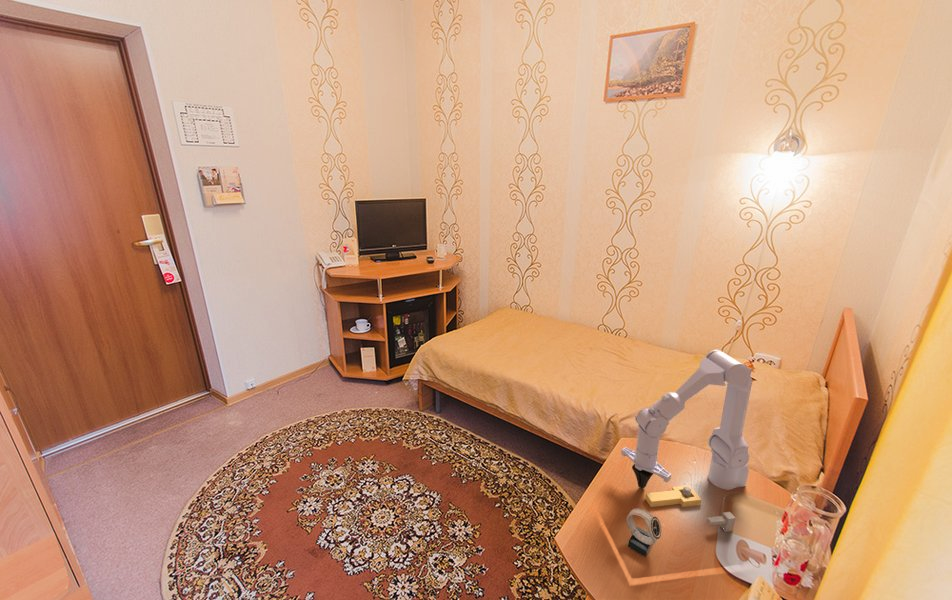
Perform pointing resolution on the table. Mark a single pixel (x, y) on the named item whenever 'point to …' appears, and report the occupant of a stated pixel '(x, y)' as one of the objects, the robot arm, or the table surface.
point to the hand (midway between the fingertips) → (642, 486)
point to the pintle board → (724, 520)
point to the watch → (643, 531)
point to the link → (673, 498)
